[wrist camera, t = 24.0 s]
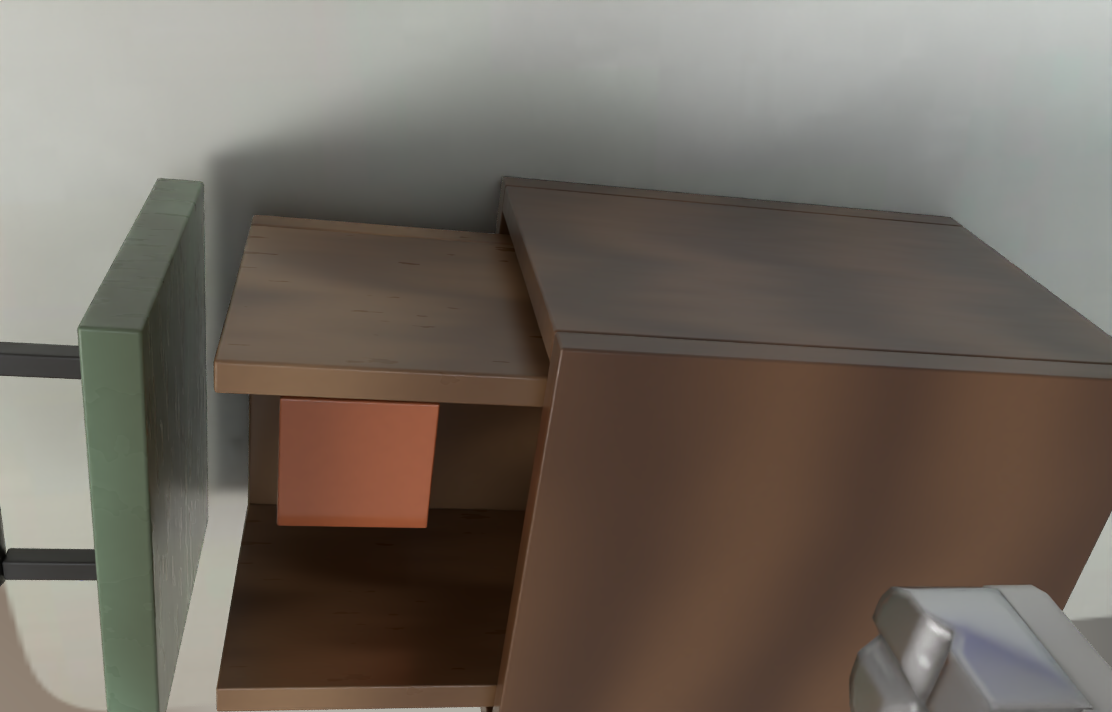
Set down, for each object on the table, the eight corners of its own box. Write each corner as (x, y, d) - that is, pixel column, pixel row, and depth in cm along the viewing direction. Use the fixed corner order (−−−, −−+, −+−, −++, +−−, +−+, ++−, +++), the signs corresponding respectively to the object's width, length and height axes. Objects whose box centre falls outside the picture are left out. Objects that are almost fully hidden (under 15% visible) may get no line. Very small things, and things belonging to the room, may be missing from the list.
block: (286, 443, 31) (276, 526, 27) (289, 324, 29) (279, 397, 25) (421, 447, 32) (427, 529, 28) (432, 332, 30) (440, 404, 26)
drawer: (12, 515, 32) (-101, 745, 24) (-32, 160, 26) (-193, 311, 19) (580, 526, 35) (638, 728, 28) (641, 217, 30) (733, 363, 23)
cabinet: (457, 522, 36) (488, 776, 26) (502, 175, 30) (560, 348, 21) (843, 529, 39) (990, 760, 30) (951, 216, 33) (1176, 383, 24)
